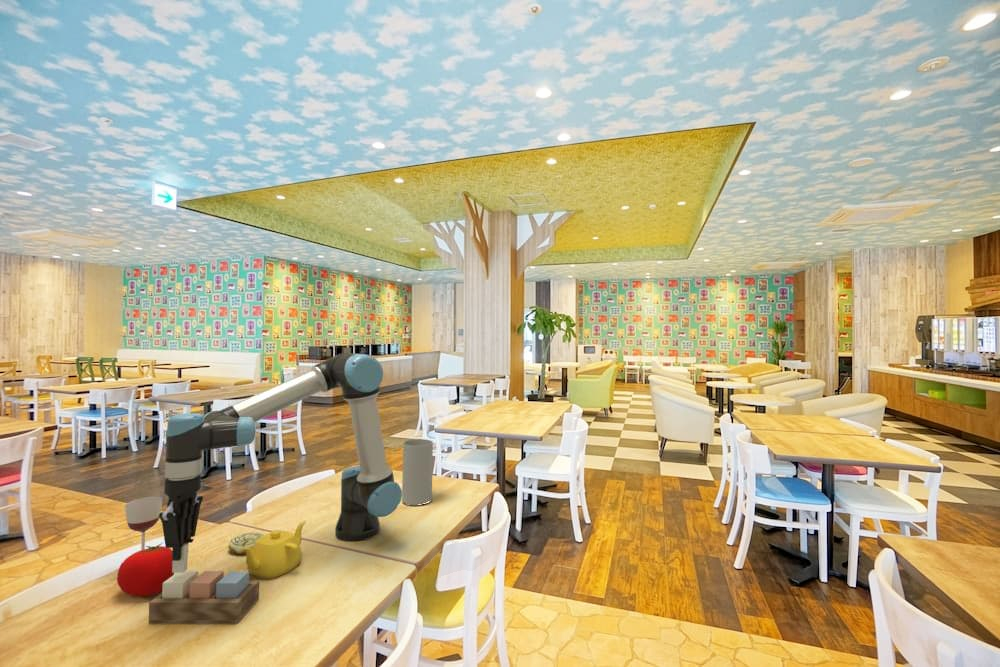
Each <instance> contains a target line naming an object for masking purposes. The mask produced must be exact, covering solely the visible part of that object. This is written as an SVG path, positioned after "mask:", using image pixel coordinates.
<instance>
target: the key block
mask: <svg viewBox="0 0 1000 667" xmlns="http://www.w3.org/2000/svg"><path fill="white" fill-rule="evenodd" d="M258 601H260V580H249V587H248V588H247V589H246V590H245V591H244V592H243V593H242V594H241V595H240V596H239V597H238V598H237V599H216V593H215V594H214V595H213V596H212V597H211V598H210V599H189V594H188V595H186V596H185V597H184V598H183V599H162V592H160V594H158V595H157V596H156V597H154V598H153V599H152V600H151V601H149V602H148V624H152V625H155V624H156V625H160V624H161V625H162V624H165V625H167V624H171V625H175V624H176V625H179V624H180V625H182V624H183V625H184V624H187V625H192V624H193V625H194V624H196V625H197V624H198V625H200V624H203V625H204V624H205V625H207V624H208V625H210V624H211V625H215V624H216V625H217V624H218V625H219V624H223V625H235V624H236V625H238V624H239V622H241V621H242V619H243V618H244V617H245V616H247V614H248V613H249V611H250V610H251V609H252V608H253V607H254V606H255V605H256V603H257V602H258Z"/></svg>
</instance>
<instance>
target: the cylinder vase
mask: <svg viewBox="0 0 1000 667" xmlns="http://www.w3.org/2000/svg"><path fill="white" fill-rule="evenodd" d="M433 445H434V441H433V440H431V439H425V438H424V439H423V438H418V439H417V438H416V439H408V440H405V441H403V442H402V480H401V482H402V483H401V484H402V488H401V490H402V498H401V501H402V503H403V504H404V503H405V504H404V505H406V504H409V505H408V506H410V505H418V504H423V503H426V502H428V501H430V500H431V499H432V500H433V459H434V456H433V454H434V453H433V451H434V450H433V449H434V447H433ZM432 500H431V501H432Z"/></svg>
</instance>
